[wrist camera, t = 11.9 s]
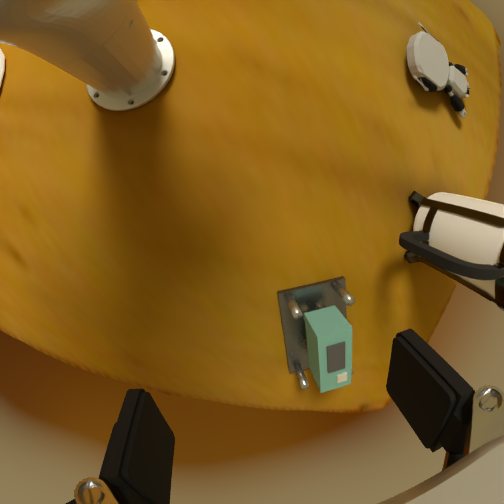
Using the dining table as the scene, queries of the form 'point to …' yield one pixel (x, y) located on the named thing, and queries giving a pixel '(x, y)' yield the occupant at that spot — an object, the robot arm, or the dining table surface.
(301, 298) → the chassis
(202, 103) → the dining table surface
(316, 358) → the teal block
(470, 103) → the dining table surface
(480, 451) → the robot arm
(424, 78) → the robot toy
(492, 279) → the coffee press
